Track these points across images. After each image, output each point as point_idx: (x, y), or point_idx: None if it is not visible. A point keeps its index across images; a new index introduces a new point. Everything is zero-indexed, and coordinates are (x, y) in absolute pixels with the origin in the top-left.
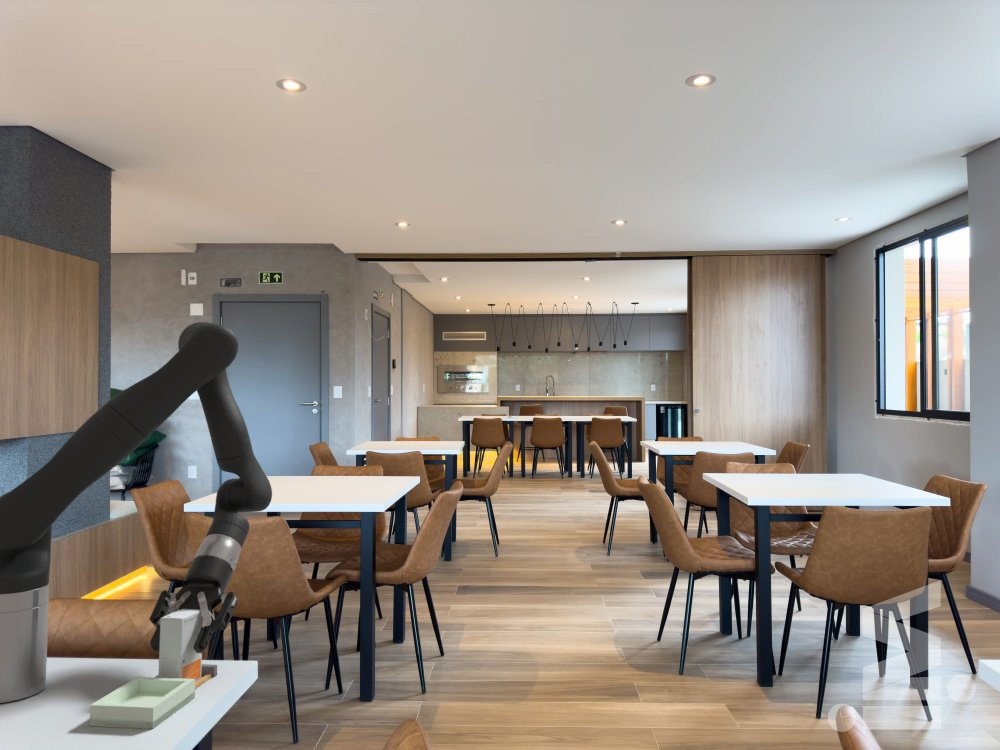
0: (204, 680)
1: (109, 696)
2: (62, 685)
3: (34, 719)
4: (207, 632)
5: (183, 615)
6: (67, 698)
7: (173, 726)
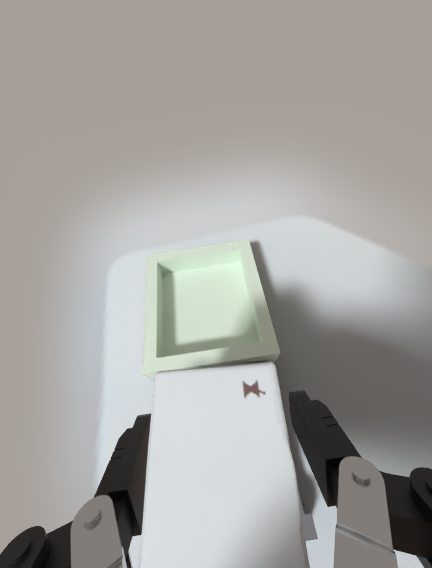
0: None
1: (247, 266)
2: None
3: (344, 254)
4: (104, 480)
5: (181, 430)
6: (389, 320)
7: (132, 285)
